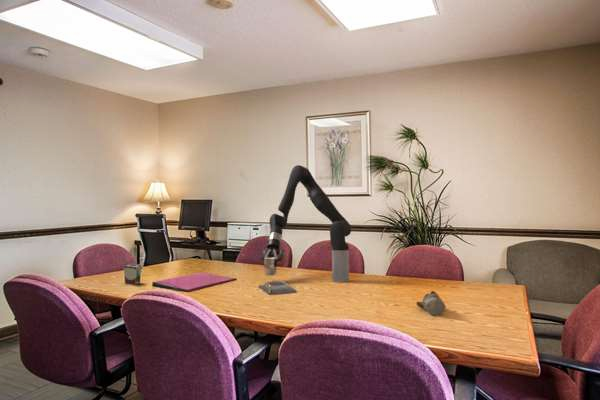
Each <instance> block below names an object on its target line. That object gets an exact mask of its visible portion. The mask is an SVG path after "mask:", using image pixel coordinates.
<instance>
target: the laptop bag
mask: <svg viewBox="0 0 600 400" xmlns="http://www.w3.org/2000/svg"><path fill="white" fill-rule="evenodd" d="M232 281H237V278H235V277H231V276H230V277H229V276H223V275H218V274H212V273H207V272H197V273H191V274H185V275H180V276H177V277H170V278H167V279H166V278H165V279H162V280H161V279H160V280H156V281H152V285H151V287H152V289H153V290H155V288H160V289H161V288H162V289H168V290H173V291H177V292H183V293H184V292H186V293H190V292H192V291H197V290H200V289H204V288H208V287H212V286H217V285H220V284H223V283H229V282H232Z"/></svg>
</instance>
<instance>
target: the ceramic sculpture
mask: <svg viewBox="0 0 600 400" xmlns="http://www.w3.org/2000/svg"><path fill="white" fill-rule="evenodd" d="M416 305H417V307H418V308H420V309H425V310H426V311H427V313H428V314H429V315H431V316H435V317H437V316H438V317H439V316H442V315H443V314H444V312H445V311H446V304H445V302H444V301H443V300H442V298H441V297H440V295H439V294H438V293H436V291H433V290H431V291H430V292H429V293H426V294H425V295H424V296H423V299H422V300H421V301H416Z"/></svg>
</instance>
